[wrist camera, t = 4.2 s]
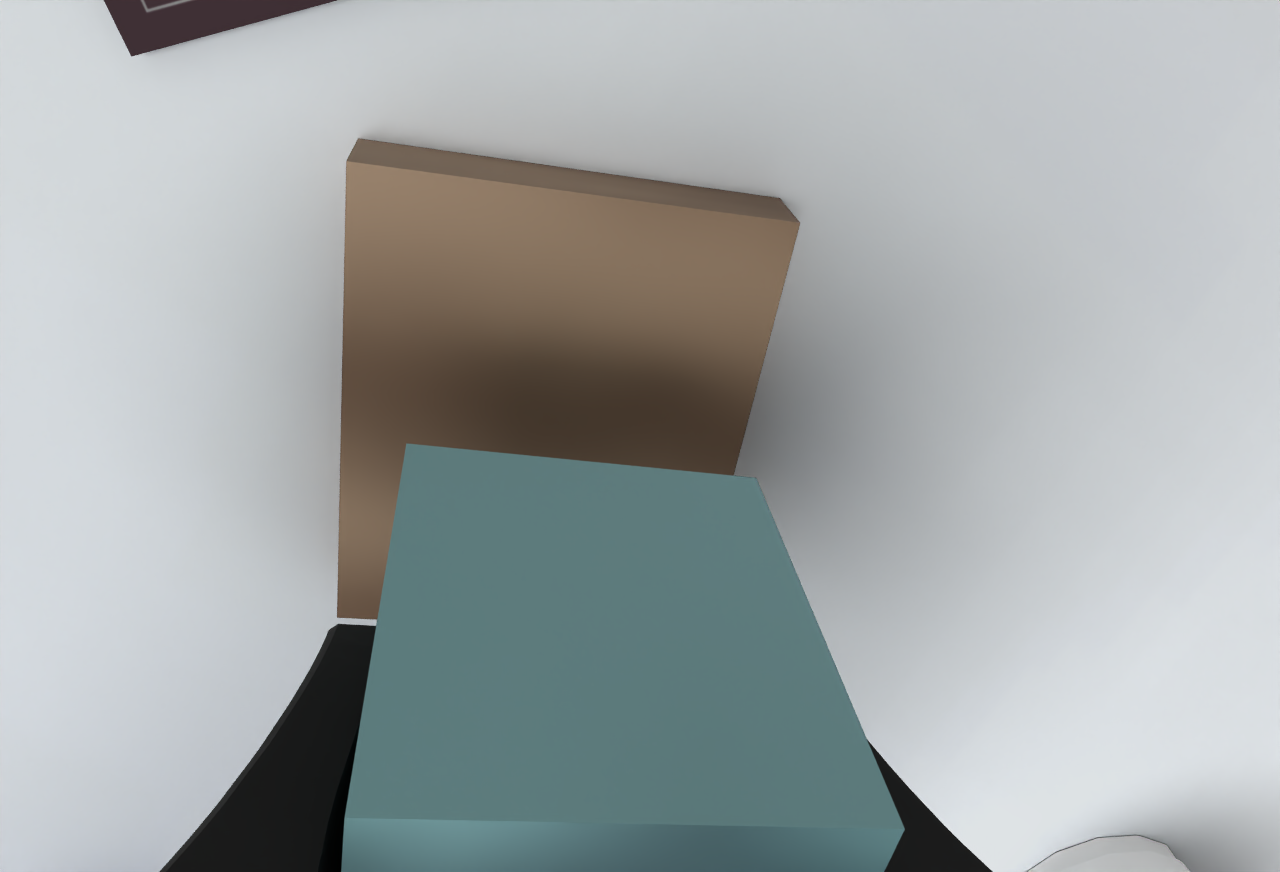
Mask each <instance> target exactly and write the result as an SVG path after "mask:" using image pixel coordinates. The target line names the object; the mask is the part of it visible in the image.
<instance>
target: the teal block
mask: <svg viewBox="0 0 1280 872" xmlns="http://www.w3.org/2000/svg"><path fill="white" fill-rule="evenodd" d="M904 830H905V828H904V826H903V824H902V821H901V819H900V817H899V814H898V812H897V809H896V807H895V805H894V802H893V800H892V798H891V795H890V793H889V791H888V788H887V786H886V784H885V781H884V779H883V776H882V774H881V772H880V769H879V767H878V765H877V762H876V760H875V758H874V755H873V753H872V750H871V748H870V746H869V743H868V741H867V739H866V736H865V734H864V732H863V729H862V727H861V724H860V722H859V720H858V717H857V715H856V713H855V710H854V708H853V706H852V703H851V701H850V699H849V696H848V694H847V691H846V689H845V687H844V684H843V682H842V680H841V677H840V675H839V673H838V670H837V668H836V665H835V663H834V661H833V658H832V656H831V654H830V651H829V649H828V647H827V644H826V642H825V639H824V637H823V635H822V632H821V630H820V628H819V625H818V623H817V621H816V618H815V616H814V614H813V611H812V609H811V606H810V604H809V602H808V599H807V597H806V595H805V592H804V590H803V588H802V585H801V583H800V580H799V578H798V576H797V573H796V571H795V569H794V566H793V564H792V562H791V559H790V557H789V554H788V552H787V550H786V547H785V545H784V543H783V540H782V538H781V536H780V533H779V531H778V529H777V526H776V524H775V521H774V519H773V517H772V514H771V512H770V510H769V507H768V505H767V503H766V500H765V498H764V495H763V493H762V491H761V488H760V486H759V484H758V481H757V479H756V478H752V477H742V476H732V475H721V474H711V473H701V472H691V471H681V470H671V469H661V468H650V467H640V466H630V465H620V464H610V463H600V462H589V461H579V460H569V459H559V458H549V457H539V456H529V455H518V454H508V453H498V452H488V451H478V450H468V449H457V448H447V447H437V446H427V445H417V444H407V443H406V449H405V455H404V461H403V467H402V473H401V479H400V485H399V491H398V497H397V503H396V510H395V516H394V522H393V528H392V534H391V540H390V546H389V552H388V558H387V564H386V570H385V576H384V582H383V588H382V594H381V600H380V606H379V612H378V618H377V625H376V631H375V637H374V643H373V649H372V655H371V661H370V667H369V673H368V679H367V685H366V691H365V697H364V703H363V709H362V715H361V721H360V727H359V734H358V740H357V746H356V752H355V758H354V764H353V770H352V776H351V782H350V788H349V794H348V800H347V806H346V812H345V819H344V835H343V851H342V867H341V872H884V871H885V869H886V867H887V865H888V863H889V861H890V859H891V857H892V855H893V852H894V850H895V848H896V846H897V844H898V842H899V840H900V838H901V836H902V834H903V832H904Z"/></svg>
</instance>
